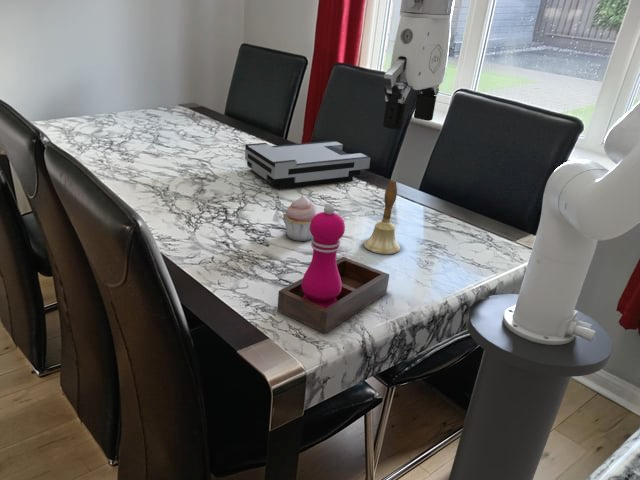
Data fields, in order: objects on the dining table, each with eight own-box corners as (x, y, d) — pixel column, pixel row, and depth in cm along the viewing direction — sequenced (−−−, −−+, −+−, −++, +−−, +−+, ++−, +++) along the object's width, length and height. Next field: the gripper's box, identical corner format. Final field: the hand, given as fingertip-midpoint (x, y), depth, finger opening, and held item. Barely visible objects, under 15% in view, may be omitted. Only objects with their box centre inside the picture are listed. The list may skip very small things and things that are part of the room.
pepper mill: (317, 293, 111) (326, 194, 102) (346, 307, 107) (359, 205, 97) (291, 305, 107) (299, 203, 97) (321, 321, 102) (332, 215, 93)
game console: (367, 180, 176) (370, 153, 172) (273, 191, 164) (275, 163, 160) (332, 161, 193) (334, 136, 189) (244, 170, 181) (245, 144, 177)
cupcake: (314, 227, 142) (317, 188, 137) (324, 243, 134) (328, 202, 129) (277, 229, 141) (279, 189, 136) (285, 244, 133) (287, 203, 128)
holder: (386, 293, 114) (389, 274, 112) (324, 334, 100) (327, 313, 98) (341, 275, 120) (343, 256, 118) (277, 311, 107) (278, 290, 105)
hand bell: (388, 237, 138) (398, 173, 130) (406, 252, 131) (418, 185, 124) (357, 241, 136) (366, 175, 128) (374, 256, 129) (384, 187, 121)
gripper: (421, 8, 77) (401, 137, 85) (476, 6, 88) (453, 120, 97) (373, 5, 81) (359, 127, 90) (431, 3, 93) (413, 112, 101)
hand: (408, 123), depth 93 cm, fingers open, 9 cm apart
